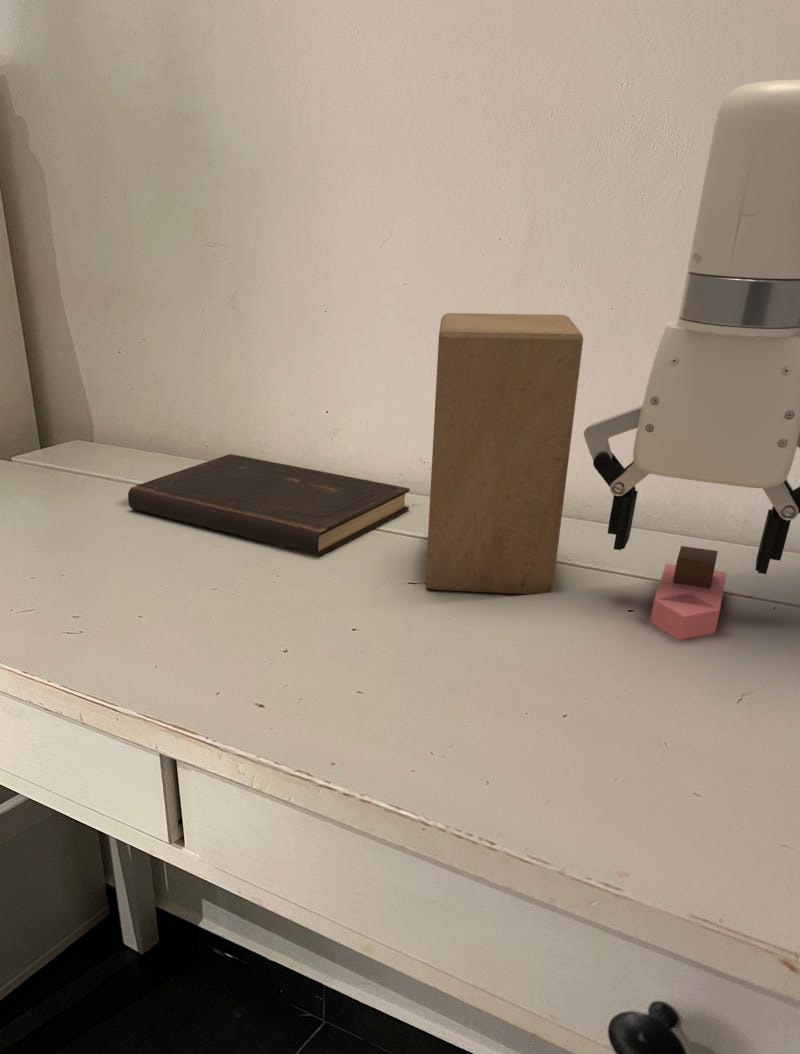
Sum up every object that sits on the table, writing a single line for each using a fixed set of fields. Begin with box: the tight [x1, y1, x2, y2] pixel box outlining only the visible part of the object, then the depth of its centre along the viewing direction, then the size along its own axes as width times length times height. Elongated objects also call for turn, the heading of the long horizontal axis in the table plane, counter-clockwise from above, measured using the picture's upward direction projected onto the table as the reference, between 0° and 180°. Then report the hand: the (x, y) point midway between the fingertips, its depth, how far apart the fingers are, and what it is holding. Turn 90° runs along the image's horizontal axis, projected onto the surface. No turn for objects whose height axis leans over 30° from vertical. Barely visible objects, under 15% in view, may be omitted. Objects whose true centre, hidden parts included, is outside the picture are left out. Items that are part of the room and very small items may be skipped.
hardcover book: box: [127, 453, 411, 557], centre depth 91 cm, size 16×23×2 cm
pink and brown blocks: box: [649, 545, 727, 641], centre depth 67 cm, size 10×4×5 cm, turn 155°
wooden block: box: [424, 312, 584, 595], centre depth 72 cm, size 10×10×20 cm
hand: (689, 555), depth 66 cm, fingers open, 9 cm apart
